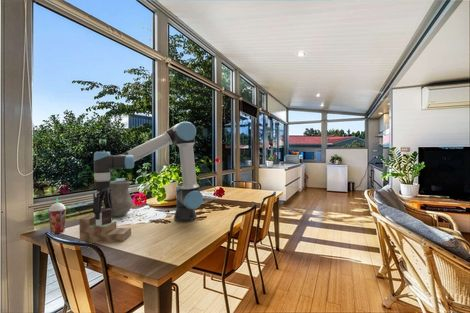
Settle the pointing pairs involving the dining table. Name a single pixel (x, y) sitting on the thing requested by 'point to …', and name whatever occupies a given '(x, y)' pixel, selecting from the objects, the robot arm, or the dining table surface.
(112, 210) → the vase
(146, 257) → the dining table surface
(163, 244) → the dining table surface
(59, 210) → the smoothie
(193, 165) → the robot arm
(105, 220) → the box
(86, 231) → the stepped block
